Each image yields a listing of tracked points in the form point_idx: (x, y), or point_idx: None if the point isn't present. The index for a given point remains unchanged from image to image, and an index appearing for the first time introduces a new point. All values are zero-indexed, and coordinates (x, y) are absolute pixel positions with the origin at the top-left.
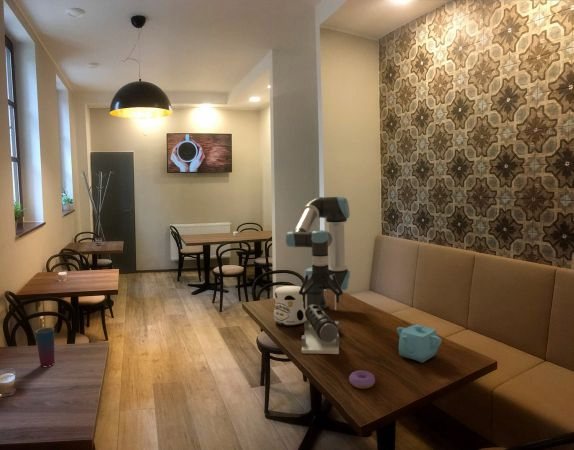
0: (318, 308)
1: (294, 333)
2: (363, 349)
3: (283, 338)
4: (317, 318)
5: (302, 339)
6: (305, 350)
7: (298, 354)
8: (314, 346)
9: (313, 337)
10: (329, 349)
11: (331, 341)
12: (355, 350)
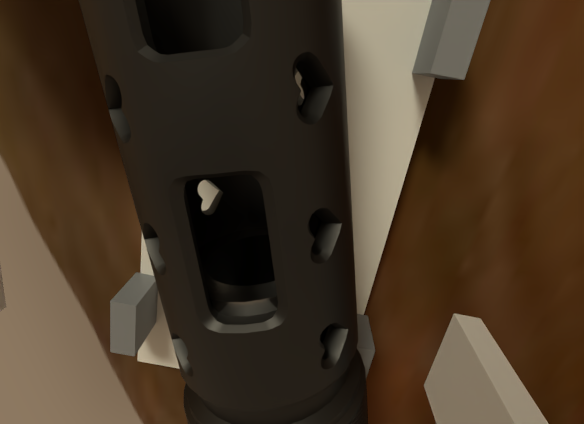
0: (213, 67)
1: (74, 18)
2: None
3: (7, 119)
4: (190, 357)
5: (120, 348)
6: (159, 362)
7: (130, 357)
8: None
9: (213, 196)
10: None
11: None
12: None
